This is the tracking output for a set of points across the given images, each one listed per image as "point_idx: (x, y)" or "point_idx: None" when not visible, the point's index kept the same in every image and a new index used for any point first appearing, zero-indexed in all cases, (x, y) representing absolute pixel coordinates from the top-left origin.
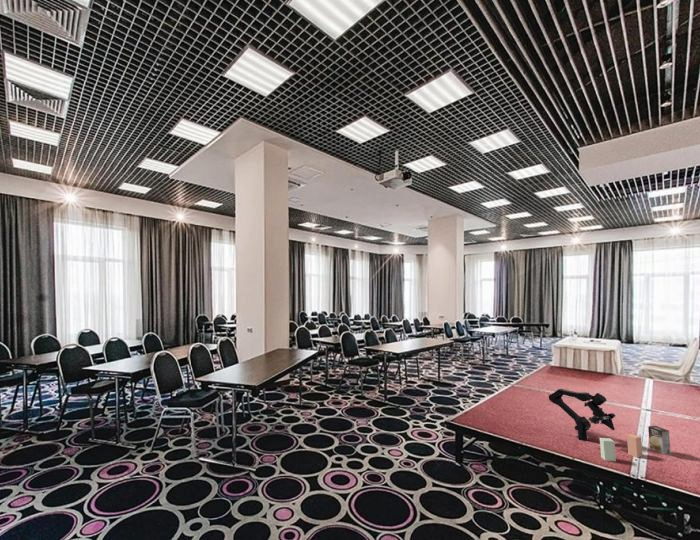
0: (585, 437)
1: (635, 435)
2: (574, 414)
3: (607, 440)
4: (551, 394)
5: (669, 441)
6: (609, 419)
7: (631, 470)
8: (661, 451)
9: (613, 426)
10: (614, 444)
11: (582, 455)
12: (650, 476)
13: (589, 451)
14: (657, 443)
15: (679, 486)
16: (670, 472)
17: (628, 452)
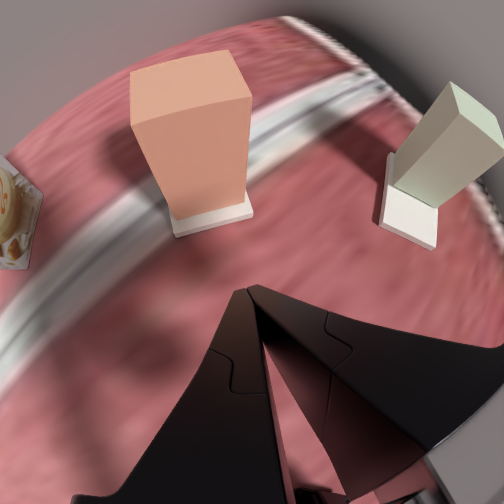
0: (325, 498)
1: (145, 91)
2: None
3: (479, 107)
4: None
5: None
6: (284, 474)
7: (364, 104)
8: (30, 192)
9: (240, 311)
10: (441, 93)
11: (478, 268)
12: (324, 66)
13: (431, 316)
14: (2, 193)
15: (284, 30)
16: None
17: (244, 193)
